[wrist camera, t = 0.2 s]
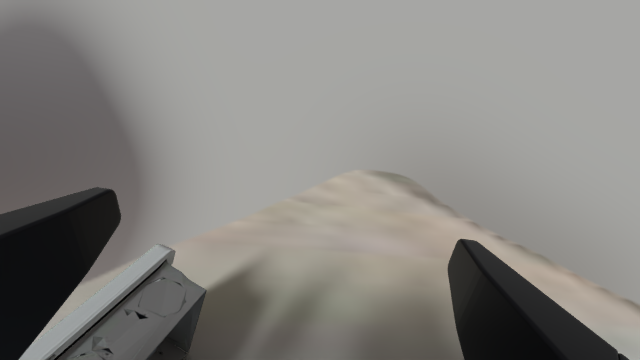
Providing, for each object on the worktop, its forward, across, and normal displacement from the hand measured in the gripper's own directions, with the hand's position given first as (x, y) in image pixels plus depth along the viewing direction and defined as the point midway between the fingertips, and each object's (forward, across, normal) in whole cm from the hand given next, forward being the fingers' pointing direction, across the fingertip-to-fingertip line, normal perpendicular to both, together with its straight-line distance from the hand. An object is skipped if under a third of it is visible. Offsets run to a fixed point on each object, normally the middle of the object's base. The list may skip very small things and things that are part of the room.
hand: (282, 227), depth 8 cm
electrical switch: (+3, +9, +17) cm, 19 cm away
